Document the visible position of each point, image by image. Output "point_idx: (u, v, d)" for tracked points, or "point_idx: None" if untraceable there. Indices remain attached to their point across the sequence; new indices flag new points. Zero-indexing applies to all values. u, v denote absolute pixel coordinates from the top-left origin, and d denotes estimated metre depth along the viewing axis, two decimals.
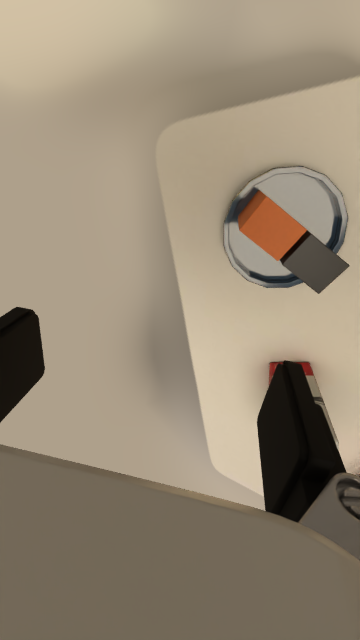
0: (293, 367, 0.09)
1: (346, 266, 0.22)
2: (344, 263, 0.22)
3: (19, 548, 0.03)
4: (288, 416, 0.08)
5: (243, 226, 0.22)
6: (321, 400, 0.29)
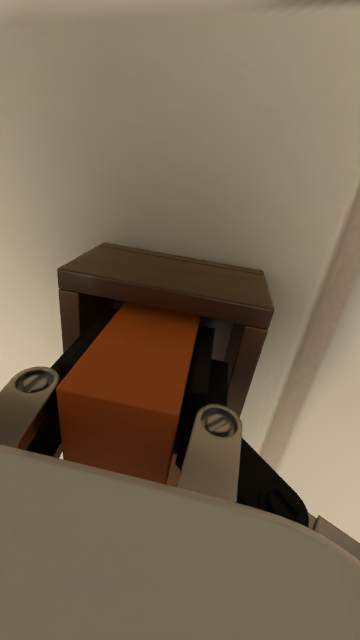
0: (206, 330, 0.11)
1: None
2: None
3: (19, 548, 0.03)
4: None
5: (72, 394, 0.07)
6: None
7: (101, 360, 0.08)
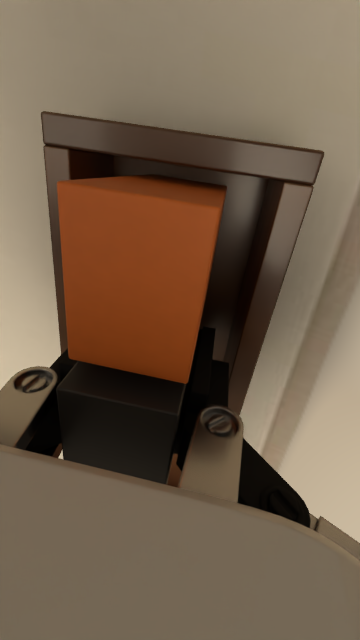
0: (206, 330, 0.11)
1: None
2: None
3: (19, 548, 0.03)
4: None
5: (77, 190, 0.05)
6: None
7: (114, 182, 0.06)
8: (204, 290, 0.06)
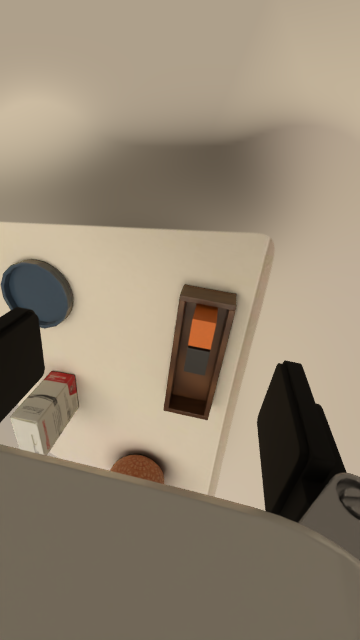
0: (293, 367, 0.09)
1: (203, 374, 0.39)
2: (204, 373, 0.39)
3: (19, 548, 0.03)
4: (288, 416, 0.08)
5: (195, 320, 0.36)
6: (53, 399, 0.48)
7: (198, 315, 0.37)
8: (213, 333, 0.36)
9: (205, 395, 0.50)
